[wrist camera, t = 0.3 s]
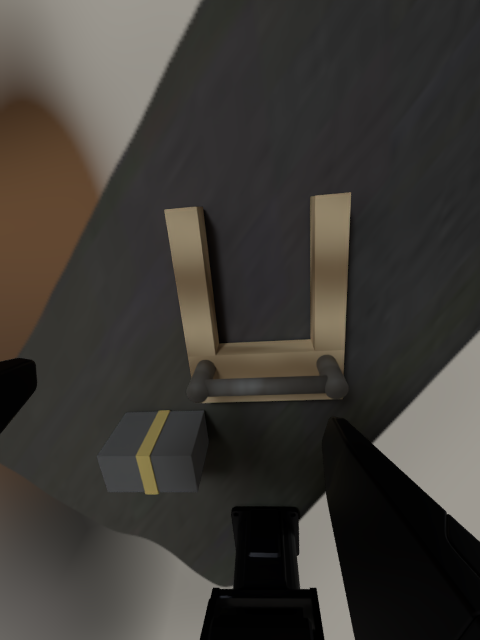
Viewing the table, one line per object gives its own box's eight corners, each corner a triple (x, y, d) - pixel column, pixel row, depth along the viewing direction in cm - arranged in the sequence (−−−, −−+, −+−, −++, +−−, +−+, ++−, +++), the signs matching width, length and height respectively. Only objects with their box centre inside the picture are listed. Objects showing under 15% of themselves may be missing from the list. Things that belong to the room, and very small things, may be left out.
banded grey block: (209, 443, 27) (197, 494, 22) (134, 444, 28) (107, 494, 23) (203, 409, 26) (190, 455, 21) (125, 411, 26) (95, 456, 22)
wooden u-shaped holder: (336, 383, 24) (354, 429, 19) (200, 388, 25) (185, 432, 20) (342, 193, 19) (369, 189, 14) (173, 209, 20) (144, 210, 15)
